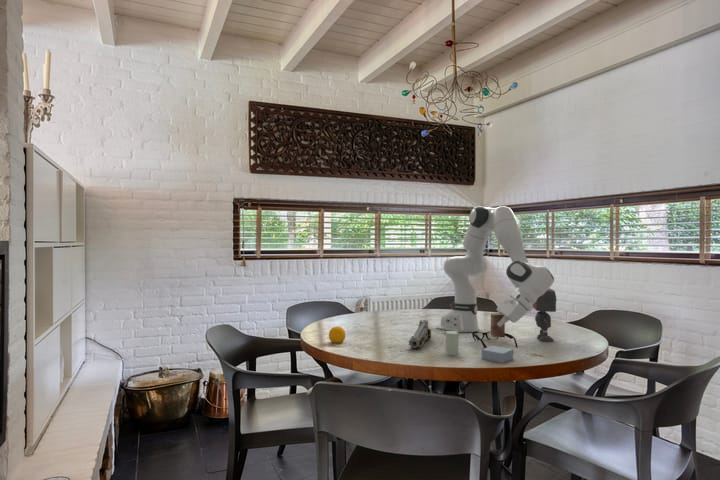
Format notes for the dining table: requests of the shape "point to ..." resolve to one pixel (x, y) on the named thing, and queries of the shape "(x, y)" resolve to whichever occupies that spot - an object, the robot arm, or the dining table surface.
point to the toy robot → (545, 314)
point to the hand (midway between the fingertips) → (496, 324)
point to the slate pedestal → (497, 354)
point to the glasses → (491, 339)
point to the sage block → (451, 342)
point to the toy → (420, 335)
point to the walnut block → (495, 329)
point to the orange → (337, 335)
